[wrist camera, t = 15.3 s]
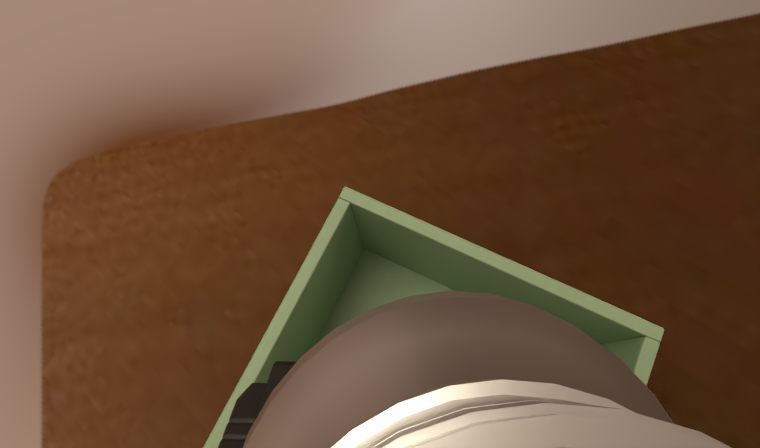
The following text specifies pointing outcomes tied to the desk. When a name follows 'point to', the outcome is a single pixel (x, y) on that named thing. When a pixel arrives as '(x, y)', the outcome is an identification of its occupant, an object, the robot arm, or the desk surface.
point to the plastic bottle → (463, 384)
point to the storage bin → (417, 289)
